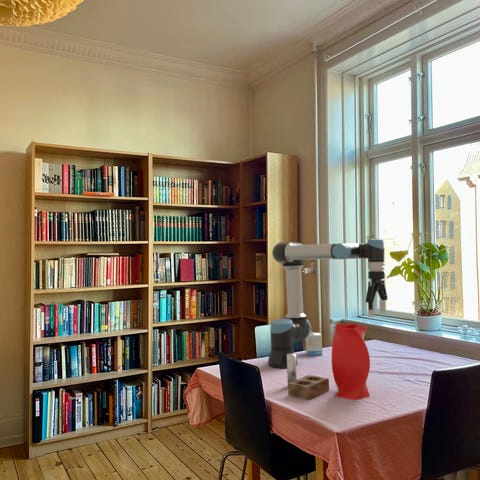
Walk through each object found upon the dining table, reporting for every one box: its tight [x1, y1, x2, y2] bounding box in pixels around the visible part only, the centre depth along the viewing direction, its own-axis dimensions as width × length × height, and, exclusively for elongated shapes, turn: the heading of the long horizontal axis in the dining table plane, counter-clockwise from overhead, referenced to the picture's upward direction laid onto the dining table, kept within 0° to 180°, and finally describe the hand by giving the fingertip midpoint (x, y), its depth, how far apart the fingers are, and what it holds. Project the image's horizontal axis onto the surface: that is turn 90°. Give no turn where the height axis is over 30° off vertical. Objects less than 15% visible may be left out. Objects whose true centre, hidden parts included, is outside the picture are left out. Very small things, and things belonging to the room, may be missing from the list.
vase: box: [331, 323, 371, 401], centre depth 190 cm, size 15×14×28 cm
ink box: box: [305, 332, 323, 356], centre depth 267 cm, size 9×8×13 cm
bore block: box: [287, 374, 330, 401], centre depth 193 cm, size 10×16×5 cm, turn 140°
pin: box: [286, 352, 298, 384], centre depth 203 cm, size 4×4×14 cm
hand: (377, 315), depth 222 cm, fingers open, 13 cm apart
